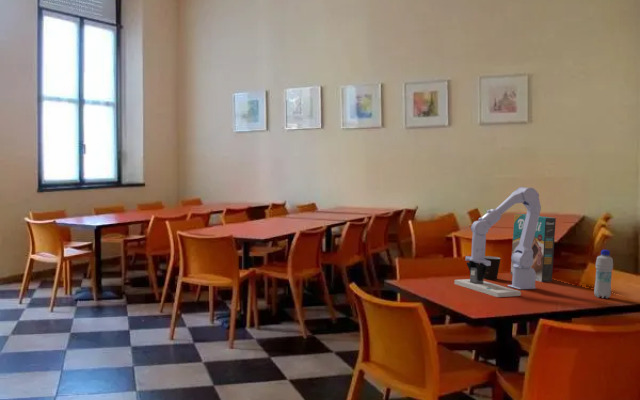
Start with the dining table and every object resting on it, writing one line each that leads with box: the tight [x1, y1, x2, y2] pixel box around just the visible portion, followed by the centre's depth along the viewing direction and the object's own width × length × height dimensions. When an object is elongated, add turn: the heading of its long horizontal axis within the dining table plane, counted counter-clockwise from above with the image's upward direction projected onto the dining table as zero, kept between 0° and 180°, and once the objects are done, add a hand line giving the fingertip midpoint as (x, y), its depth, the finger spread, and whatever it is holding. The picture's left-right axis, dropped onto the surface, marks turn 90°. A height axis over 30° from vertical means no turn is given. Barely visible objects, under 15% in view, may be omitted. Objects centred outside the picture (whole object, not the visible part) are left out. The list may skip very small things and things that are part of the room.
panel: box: [454, 278, 522, 298], centre depth 262 cm, size 12×28×2 cm, turn 25°
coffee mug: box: [484, 255, 502, 281], centre depth 292 cm, size 12×9×10 cm
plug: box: [469, 267, 485, 284], centre depth 268 cm, size 4×4×8 cm
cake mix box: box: [510, 213, 557, 283], centre depth 298 cm, size 22×6×30 cm, turn 22°
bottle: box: [593, 249, 614, 299], centre depth 256 cm, size 7×7×20 cm
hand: (476, 279), depth 268 cm, fingers closed on plug, 4 cm apart
